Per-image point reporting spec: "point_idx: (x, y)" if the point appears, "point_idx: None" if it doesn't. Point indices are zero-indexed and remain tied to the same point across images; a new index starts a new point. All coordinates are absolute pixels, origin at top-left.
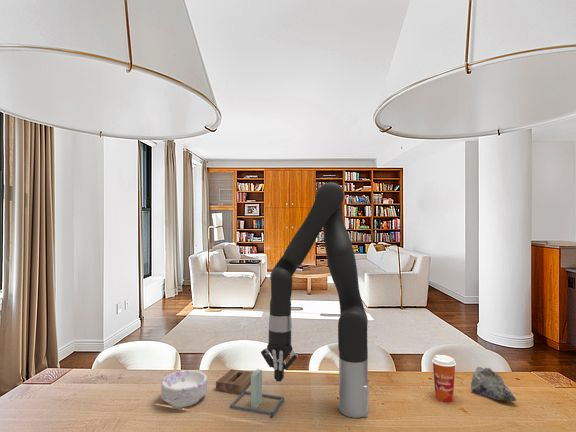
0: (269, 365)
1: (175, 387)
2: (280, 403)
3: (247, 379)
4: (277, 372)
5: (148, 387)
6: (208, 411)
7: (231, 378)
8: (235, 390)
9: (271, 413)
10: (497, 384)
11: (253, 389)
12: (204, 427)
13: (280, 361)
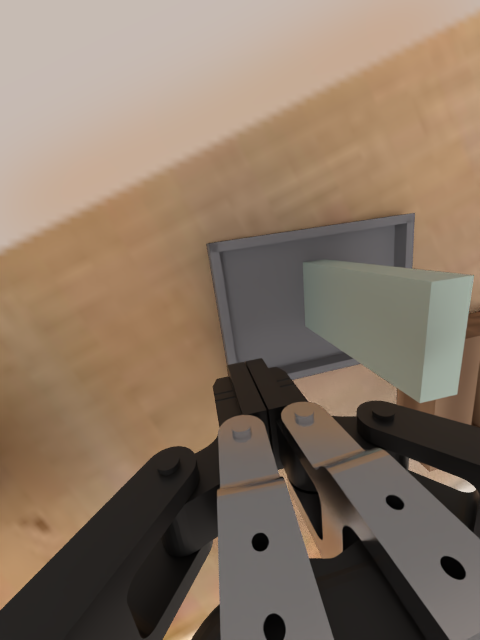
0: (394, 410)
1: None
2: (225, 347)
3: (434, 406)
4: (266, 395)
5: None
6: (470, 168)
7: None
8: None
9: (214, 243)
10: None
11: (369, 267)
12: (437, 32)
13: (258, 515)
